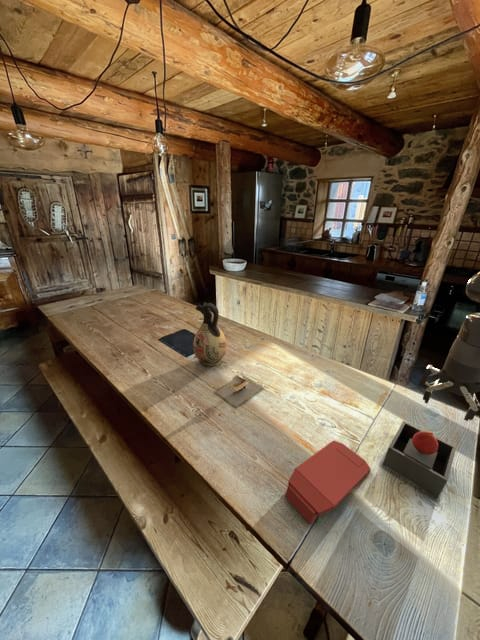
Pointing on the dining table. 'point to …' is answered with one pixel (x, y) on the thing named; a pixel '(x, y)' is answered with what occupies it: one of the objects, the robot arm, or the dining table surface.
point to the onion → (425, 442)
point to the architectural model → (239, 390)
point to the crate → (414, 470)
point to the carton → (325, 480)
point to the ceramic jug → (209, 337)
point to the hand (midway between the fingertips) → (445, 409)
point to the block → (419, 455)
